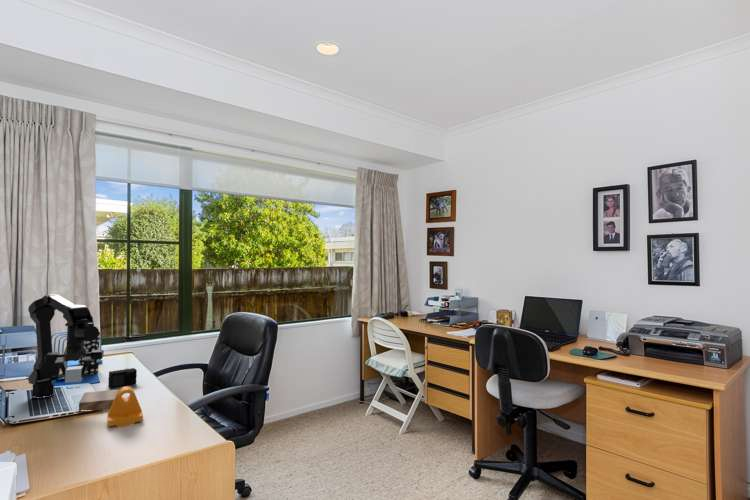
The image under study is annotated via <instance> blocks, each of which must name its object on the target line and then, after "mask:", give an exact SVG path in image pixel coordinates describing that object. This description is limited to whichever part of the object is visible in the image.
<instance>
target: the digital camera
mask: <svg viewBox="0 0 750 500" xmlns="http://www.w3.org/2000/svg"><path fill="white" fill-rule="evenodd" d="M137 371H138V370H137V369H136V368H135V367H134V368H133V367H132V368H126V369H125V368H124V369H118V370H113V371H112V370H111V371H108V381H107V382H108V383H107V385H108V386H107V387H108V388H109V389H110V390H115V389H117V388H118V389H121V388H122V387H125V386H129V387H131V386H135V385H137V373H138V372H137Z"/></svg>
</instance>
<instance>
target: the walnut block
mask: <svg viewBox="0 0 750 500" xmlns="http://www.w3.org/2000/svg"><path fill="white" fill-rule="evenodd" d="M120 389H121V388H118V389H110V390H109V389H108V390H98V391H97V390H96V391H89V392H83V395H82V397H81V399H80V401H79V402H78V412H79V411H81V410H93V411H92V412H95V411H104V410H110V408H111V406H112V403H113V401H114V399H115V397H116V395H117V393H118V391H119V390H120Z"/></svg>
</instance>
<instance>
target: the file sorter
mask: <svg viewBox="0 0 750 500" xmlns="http://www.w3.org/2000/svg"><path fill="white" fill-rule="evenodd" d="M55 335H56V336H55ZM54 336H55V337H54ZM53 337H54V341H53V352H56V343H57V342H56V341H57V338H58V337H60V338H59V340H58V343H57V348H58V349H57V352H60V345H61V340H62V338H65V339H63V341H62V347H61V354H64V352H65V348H64V346H65V341H67V331H61V332H56V333H53V334H51V339H52V340H53ZM102 344H103V343H102V338H101V337H100V345H99V350H102V348H103V347H102ZM101 364H103V359H99V365H101ZM78 365H79V360H78V361H67V368H68V367H74V366H78ZM59 368H60V366H59Z"/></svg>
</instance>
